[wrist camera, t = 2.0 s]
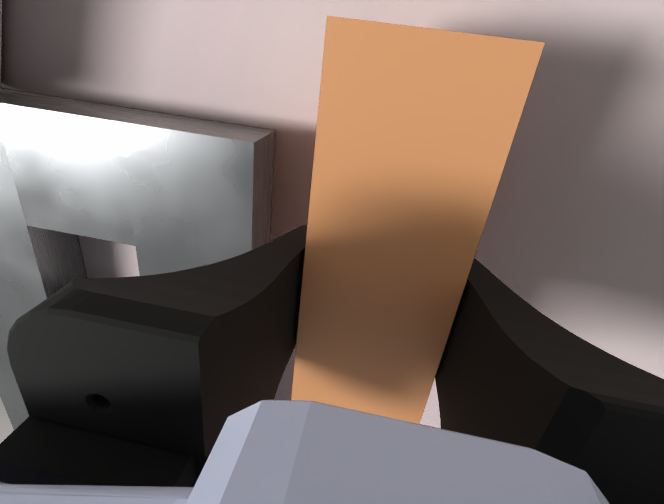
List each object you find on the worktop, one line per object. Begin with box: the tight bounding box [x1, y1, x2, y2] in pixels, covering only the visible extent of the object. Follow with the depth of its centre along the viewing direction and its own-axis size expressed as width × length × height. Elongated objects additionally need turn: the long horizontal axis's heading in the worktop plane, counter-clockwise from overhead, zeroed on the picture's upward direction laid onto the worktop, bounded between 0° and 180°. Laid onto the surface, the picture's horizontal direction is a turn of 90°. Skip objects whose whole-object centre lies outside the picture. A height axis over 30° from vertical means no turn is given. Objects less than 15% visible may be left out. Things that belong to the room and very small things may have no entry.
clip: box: [291, 16, 545, 424], centre depth 11 cm, size 12×4×5 cm, turn 173°
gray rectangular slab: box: [0, 89, 275, 430], centre depth 17 cm, size 20×12×2 cm, turn 173°
